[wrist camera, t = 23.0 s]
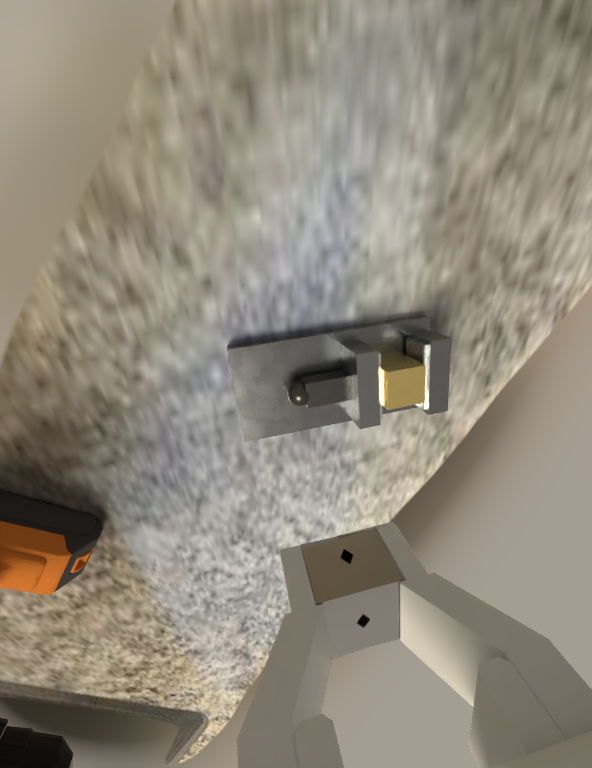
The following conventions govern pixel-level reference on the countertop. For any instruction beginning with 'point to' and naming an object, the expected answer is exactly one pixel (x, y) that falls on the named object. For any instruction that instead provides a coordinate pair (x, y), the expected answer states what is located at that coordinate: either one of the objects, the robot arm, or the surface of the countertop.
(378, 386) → the jaw
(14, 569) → the power drill
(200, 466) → the countertop surface
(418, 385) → the block
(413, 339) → the vise
